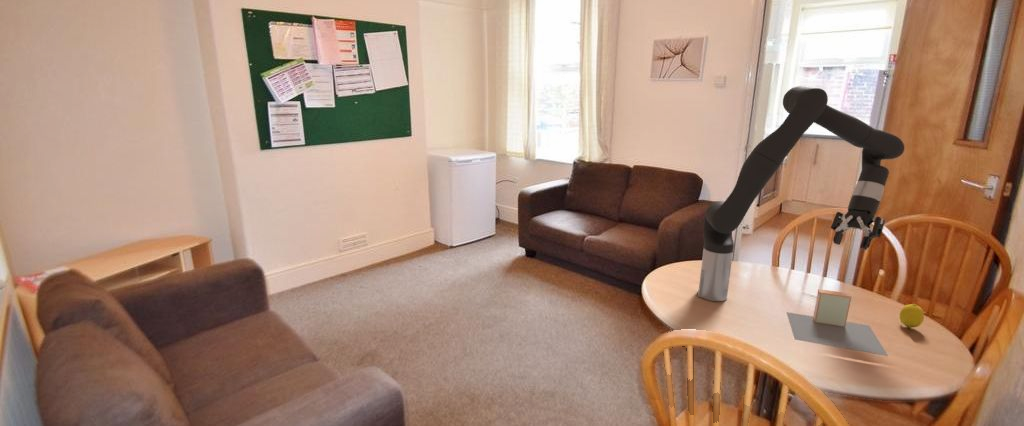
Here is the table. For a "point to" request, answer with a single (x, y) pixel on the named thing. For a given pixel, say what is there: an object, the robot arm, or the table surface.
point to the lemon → (911, 315)
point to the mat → (835, 334)
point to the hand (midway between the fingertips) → (849, 246)
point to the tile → (832, 307)
